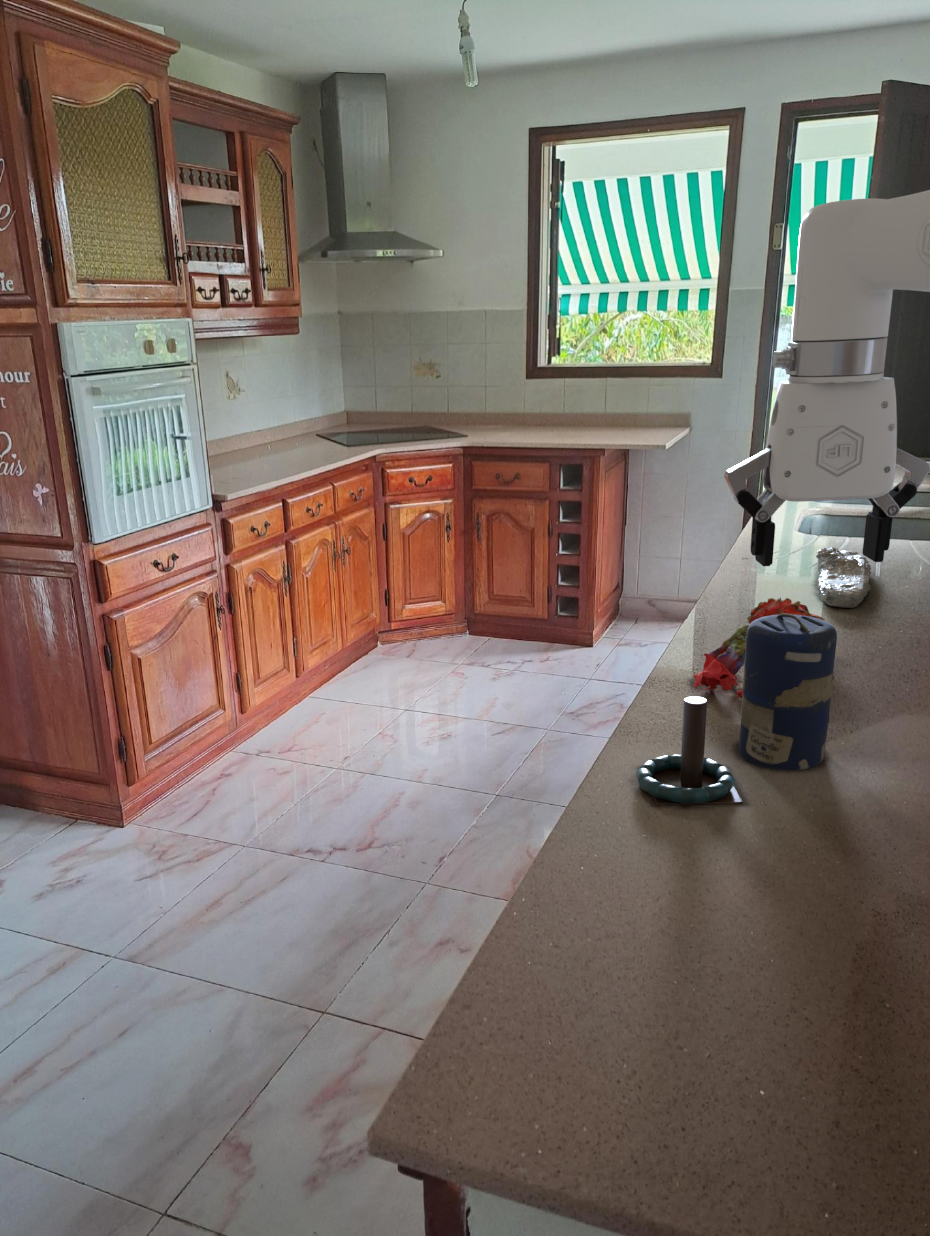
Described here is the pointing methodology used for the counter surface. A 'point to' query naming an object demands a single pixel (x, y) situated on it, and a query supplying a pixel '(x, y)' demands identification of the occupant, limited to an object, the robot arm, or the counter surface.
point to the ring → (684, 794)
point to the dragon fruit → (779, 609)
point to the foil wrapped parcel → (842, 577)
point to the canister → (787, 691)
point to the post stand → (693, 756)
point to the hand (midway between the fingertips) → (817, 560)
